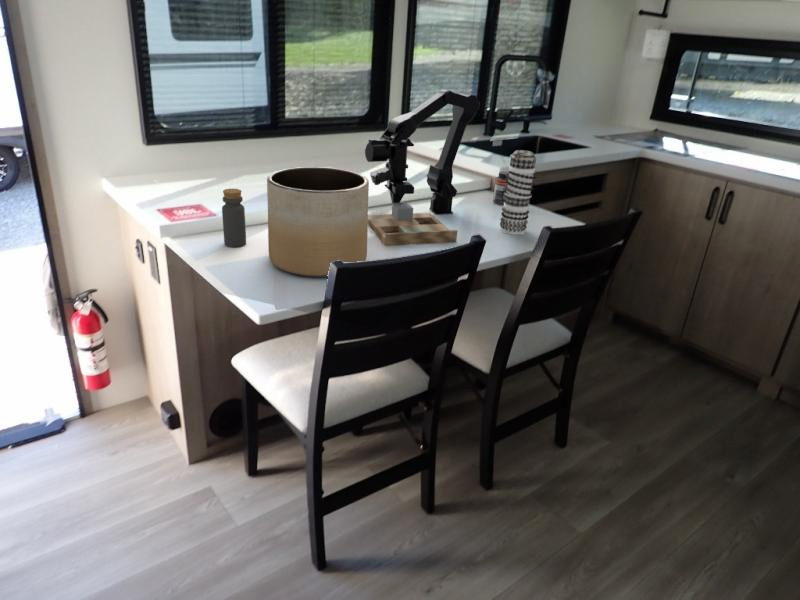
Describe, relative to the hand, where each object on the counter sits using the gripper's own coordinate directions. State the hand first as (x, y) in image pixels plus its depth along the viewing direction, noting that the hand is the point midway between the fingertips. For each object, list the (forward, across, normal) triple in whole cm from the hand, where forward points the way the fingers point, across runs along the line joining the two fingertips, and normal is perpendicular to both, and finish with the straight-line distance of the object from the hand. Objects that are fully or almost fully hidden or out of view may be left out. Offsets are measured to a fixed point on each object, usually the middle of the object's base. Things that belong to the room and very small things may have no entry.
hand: (394, 208), depth 193 cm
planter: (+3, +35, -32) cm, 47 cm away
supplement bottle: (+3, -11, +45) cm, 46 cm away
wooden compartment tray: (+3, +15, 0) cm, 15 cm away
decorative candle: (+3, +19, +34) cm, 39 cm away
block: (+1, +8, 0) cm, 8 cm away
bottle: (+3, +19, -52) cm, 55 cm away
